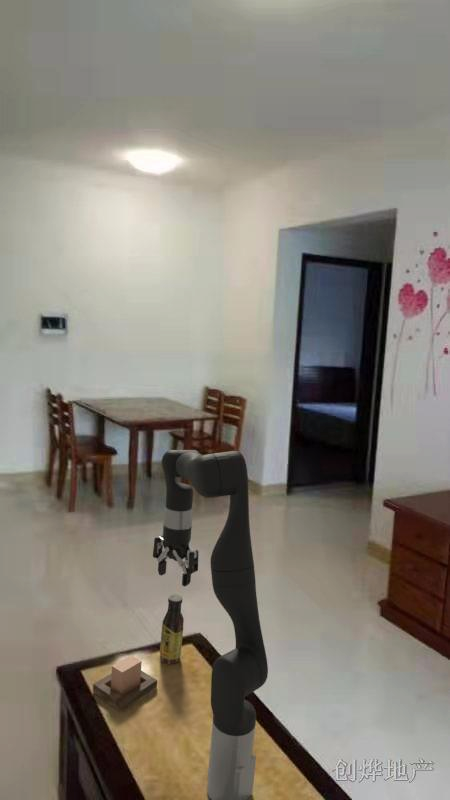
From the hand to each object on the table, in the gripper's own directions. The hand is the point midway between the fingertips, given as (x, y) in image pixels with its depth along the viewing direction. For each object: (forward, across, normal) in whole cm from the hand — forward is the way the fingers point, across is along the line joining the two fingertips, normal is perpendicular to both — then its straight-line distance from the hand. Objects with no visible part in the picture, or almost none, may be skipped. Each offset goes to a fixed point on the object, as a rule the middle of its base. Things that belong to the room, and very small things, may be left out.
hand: (173, 579), depth 164 cm
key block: (+29, -5, -11) cm, 32 cm away
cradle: (+30, -5, -11) cm, 32 cm away
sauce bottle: (+30, -6, +8) cm, 32 cm away
